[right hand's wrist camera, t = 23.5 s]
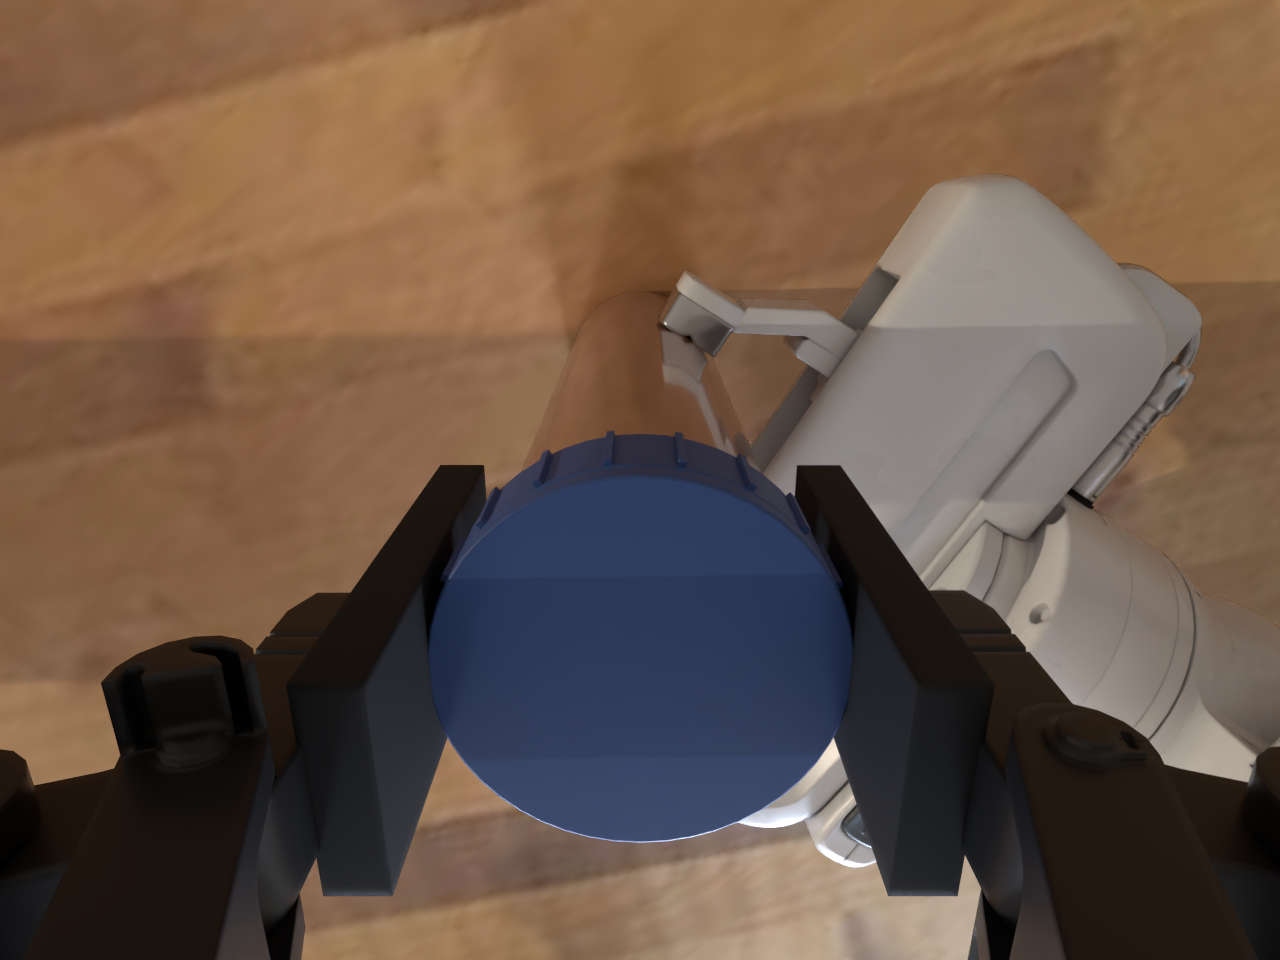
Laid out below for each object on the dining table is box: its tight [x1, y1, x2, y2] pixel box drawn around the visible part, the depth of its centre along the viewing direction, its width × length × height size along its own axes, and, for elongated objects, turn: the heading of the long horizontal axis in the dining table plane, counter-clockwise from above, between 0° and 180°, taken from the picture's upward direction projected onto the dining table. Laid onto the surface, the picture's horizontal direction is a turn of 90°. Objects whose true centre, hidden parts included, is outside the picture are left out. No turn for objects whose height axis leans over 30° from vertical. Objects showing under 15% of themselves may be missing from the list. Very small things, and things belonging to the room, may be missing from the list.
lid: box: [428, 431, 853, 842], centre depth 11 cm, size 6×6×2 cm
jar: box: [521, 292, 760, 472], centre depth 20 cm, size 5×5×19 cm
